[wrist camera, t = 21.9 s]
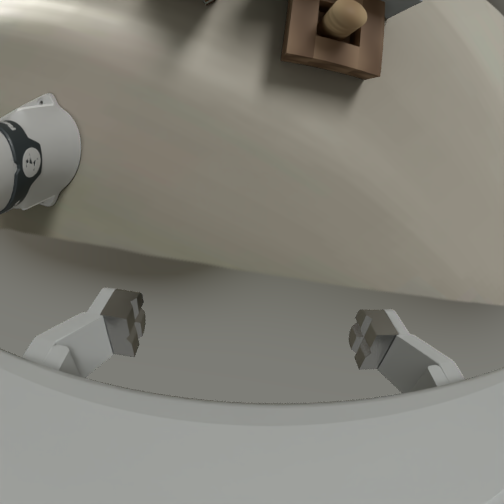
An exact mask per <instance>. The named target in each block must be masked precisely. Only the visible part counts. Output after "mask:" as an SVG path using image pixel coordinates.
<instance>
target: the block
mask: <svg viewBox="0 0 504 504" xmlns="http://www.w3.org/2000/svg"><path fill="white" fill-rule="evenodd" d="M336 1H337V0H289V1H288V9H287V17H286V24H285V32H284V40H283V48H282V55H281V61H286V62H292V63H297V64H303V65H308V66H313V67H317V68H322V69H326V70H331V71H335V72H339V73H343V74H346V75H350V76H354V77H357V78H361V79H364V80H366V79H370V78H375V77H380V73H381V63H382V52H383V38H384V20H385V2H384V1H381V0H354V1H356V2H358V3H359V4H361V5H362V6H363V8H364V9H365V11H366V13H367V21H366V23H365V24H364V25H363V26H361V27H360V28H358V29H357V30H356V31H354V32H353V33H351V34H350V35H349V36H347V37H346V38H344V39H343V40H342V41H337V40H333V39H329V38H325V37H321V36H319V35H318V33H317V24H318V22H319V21H320V20H321V19H322V18H323V16H324V15H325V14H326V13H327V12H328V10H329V9H330V8H331V7H332V6H333V4H334V3H335V2H336Z"/></svg>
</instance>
